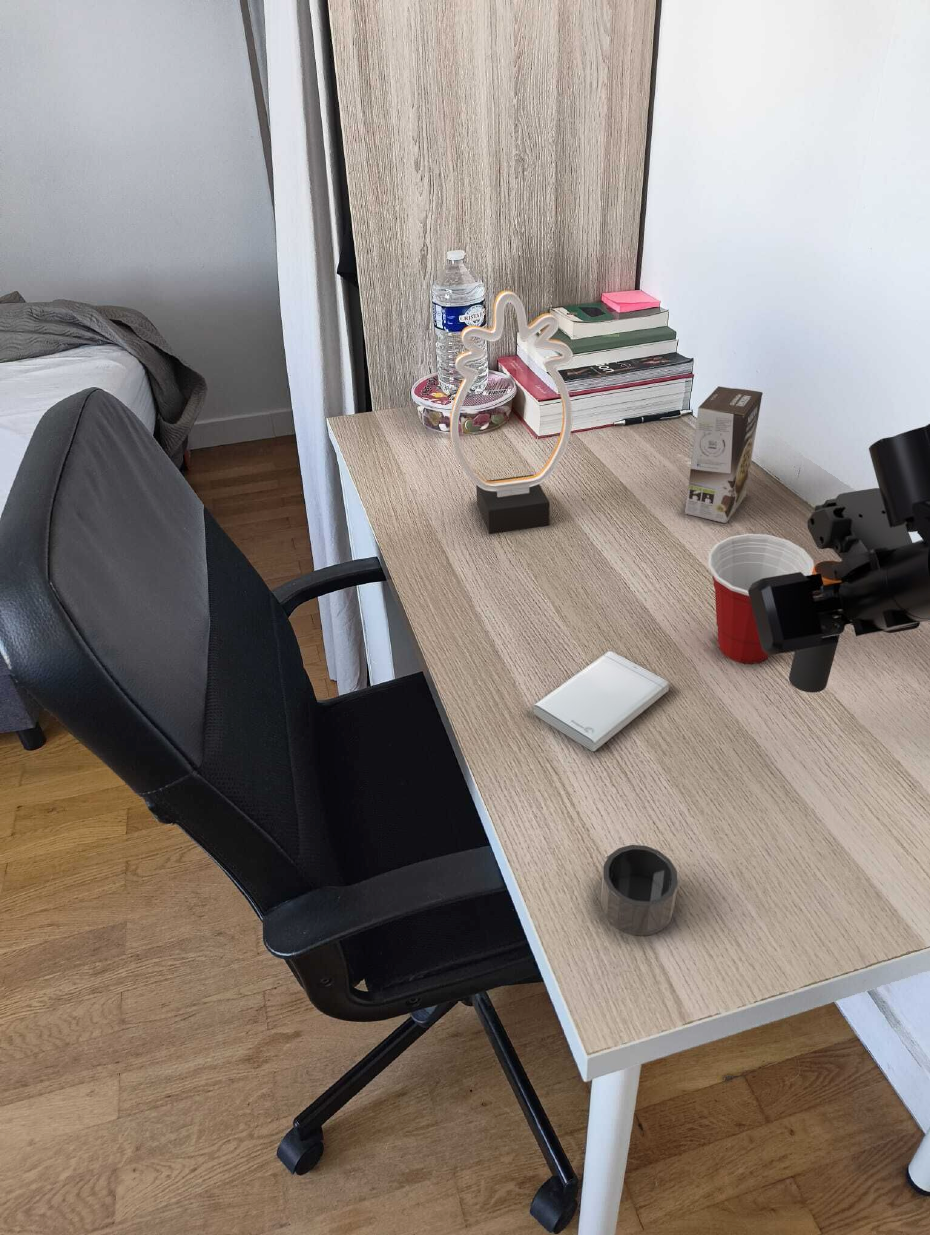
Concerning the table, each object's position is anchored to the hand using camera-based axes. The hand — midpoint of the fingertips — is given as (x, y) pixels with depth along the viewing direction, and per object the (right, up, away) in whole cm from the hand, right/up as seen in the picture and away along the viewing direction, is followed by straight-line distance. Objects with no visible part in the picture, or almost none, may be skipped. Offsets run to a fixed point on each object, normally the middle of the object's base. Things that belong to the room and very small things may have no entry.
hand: (813, 617), depth 77 cm
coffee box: (+4, +16, +45) cm, 48 cm away
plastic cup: (0, -4, +18) cm, 18 cm away
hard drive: (-17, -9, +12) cm, 23 cm away
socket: (-18, -24, -8) cm, 31 cm away
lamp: (-25, +15, +46) cm, 54 cm away
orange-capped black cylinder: (+1, -6, +3) cm, 7 cm away
